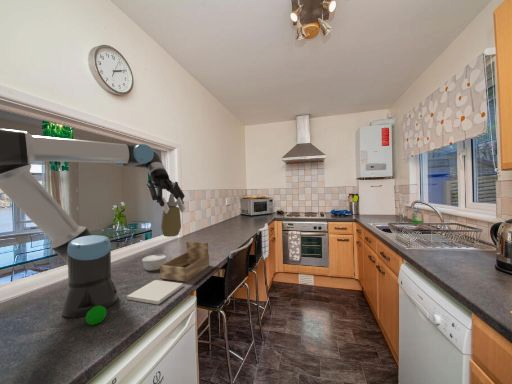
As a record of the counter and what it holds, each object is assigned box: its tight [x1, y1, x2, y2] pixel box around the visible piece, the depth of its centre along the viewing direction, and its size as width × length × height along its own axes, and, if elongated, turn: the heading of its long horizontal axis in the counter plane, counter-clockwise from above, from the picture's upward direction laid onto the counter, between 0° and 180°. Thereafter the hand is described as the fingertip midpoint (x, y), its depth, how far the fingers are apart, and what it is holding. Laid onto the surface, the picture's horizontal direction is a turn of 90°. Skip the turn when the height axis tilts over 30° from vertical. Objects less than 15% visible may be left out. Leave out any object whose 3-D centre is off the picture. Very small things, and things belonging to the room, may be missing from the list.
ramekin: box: [141, 254, 167, 272], centre depth 107 cm, size 11×11×5 cm
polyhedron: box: [84, 306, 108, 326], centre depth 62 cm, size 5×5×5 cm
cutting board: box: [126, 279, 184, 305], centre depth 80 cm, size 14×14×1 cm
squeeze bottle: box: [160, 193, 182, 238], centre depth 88 cm, size 8×8×18 cm
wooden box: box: [159, 241, 210, 283], centre depth 100 cm, size 14×20×12 cm
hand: (175, 210), depth 86 cm, fingers closed on squeeze bottle, 6 cm apart
